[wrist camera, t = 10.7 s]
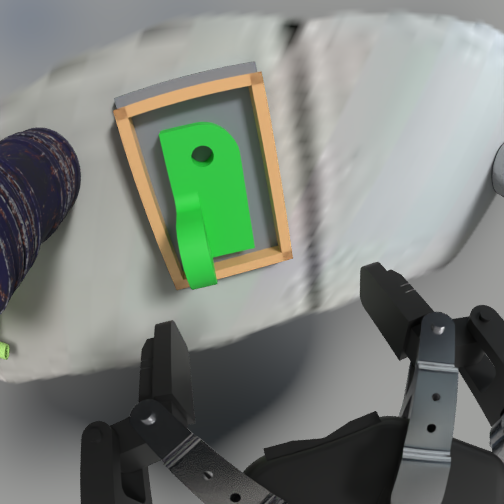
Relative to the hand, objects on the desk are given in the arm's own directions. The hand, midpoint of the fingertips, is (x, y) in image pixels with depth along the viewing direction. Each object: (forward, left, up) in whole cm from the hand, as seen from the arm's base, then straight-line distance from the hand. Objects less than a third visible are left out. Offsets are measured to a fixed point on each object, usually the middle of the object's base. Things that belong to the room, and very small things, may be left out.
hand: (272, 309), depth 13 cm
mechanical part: (+1, 0, -18) cm, 18 cm away
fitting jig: (+1, 0, -18) cm, 18 cm away
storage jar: (+17, -6, -19) cm, 26 cm away
